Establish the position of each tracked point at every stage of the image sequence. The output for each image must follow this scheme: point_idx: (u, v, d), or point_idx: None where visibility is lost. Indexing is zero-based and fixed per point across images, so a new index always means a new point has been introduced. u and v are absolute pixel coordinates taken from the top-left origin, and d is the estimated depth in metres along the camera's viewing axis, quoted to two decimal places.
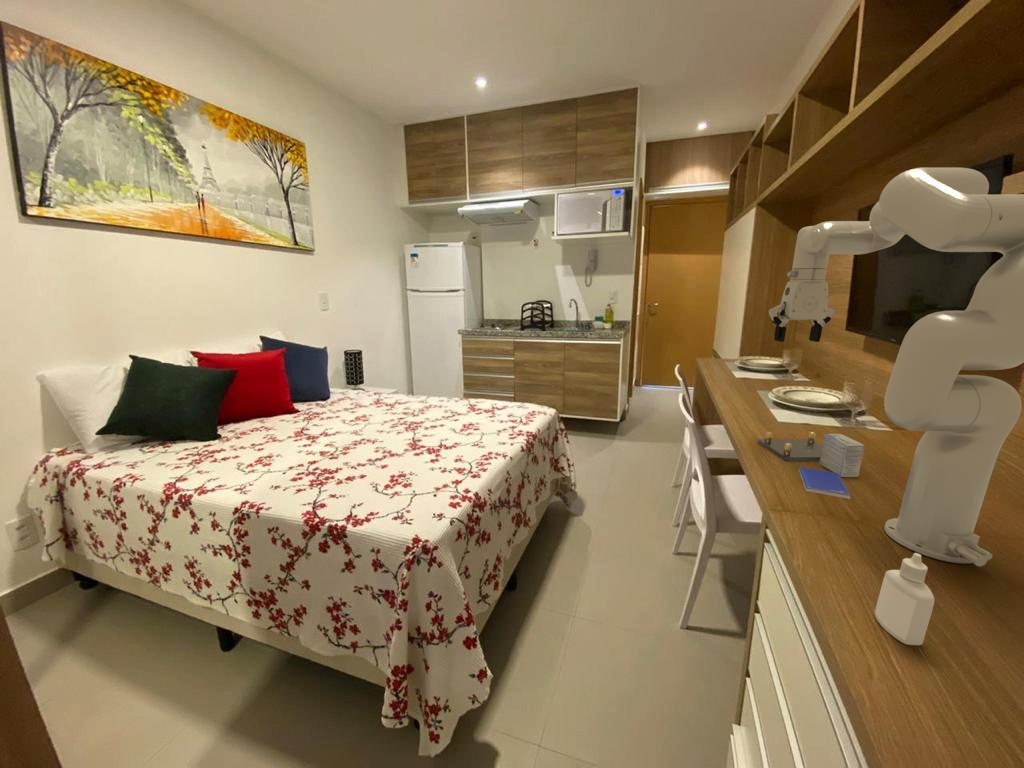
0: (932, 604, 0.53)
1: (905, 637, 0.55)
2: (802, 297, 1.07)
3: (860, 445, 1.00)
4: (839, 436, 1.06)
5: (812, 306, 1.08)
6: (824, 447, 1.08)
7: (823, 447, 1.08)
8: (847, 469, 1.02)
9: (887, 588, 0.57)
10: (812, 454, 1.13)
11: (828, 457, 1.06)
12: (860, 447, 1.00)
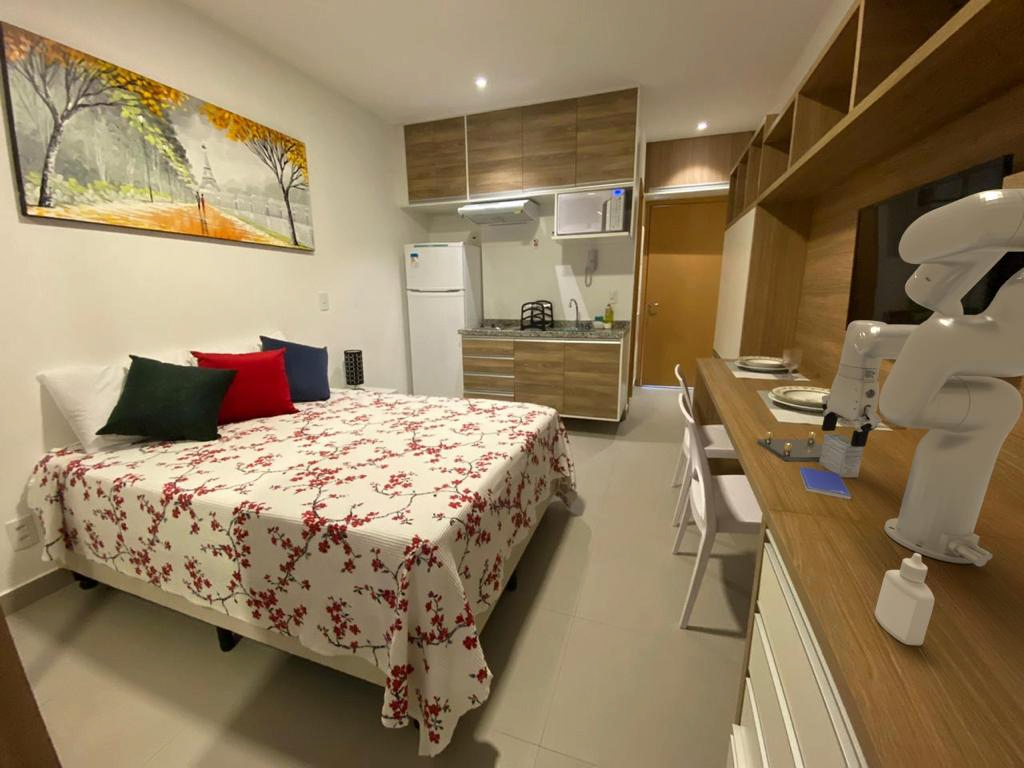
0: (932, 604, 0.53)
1: (905, 638, 0.55)
2: None
3: None
4: (839, 436, 1.06)
5: None
6: (824, 447, 1.08)
7: (823, 447, 1.08)
8: (847, 470, 1.02)
9: (887, 588, 0.57)
10: (812, 454, 1.13)
11: (828, 458, 1.06)
12: (860, 447, 1.00)
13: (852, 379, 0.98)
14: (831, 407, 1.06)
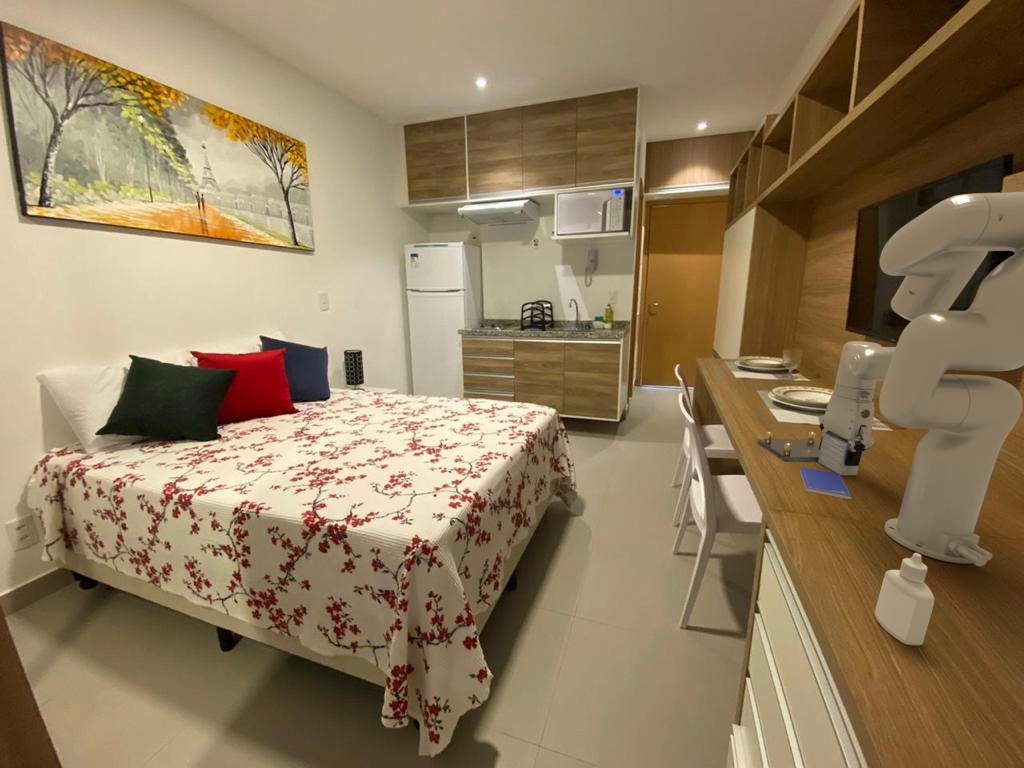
0: (932, 604, 0.53)
1: (905, 637, 0.55)
2: None
3: None
4: None
5: None
6: (823, 445, 1.09)
7: (822, 445, 1.09)
8: (846, 468, 1.03)
9: (887, 588, 0.57)
10: (812, 454, 1.13)
11: (827, 456, 1.07)
12: None
13: (847, 399, 1.00)
14: (827, 426, 1.07)
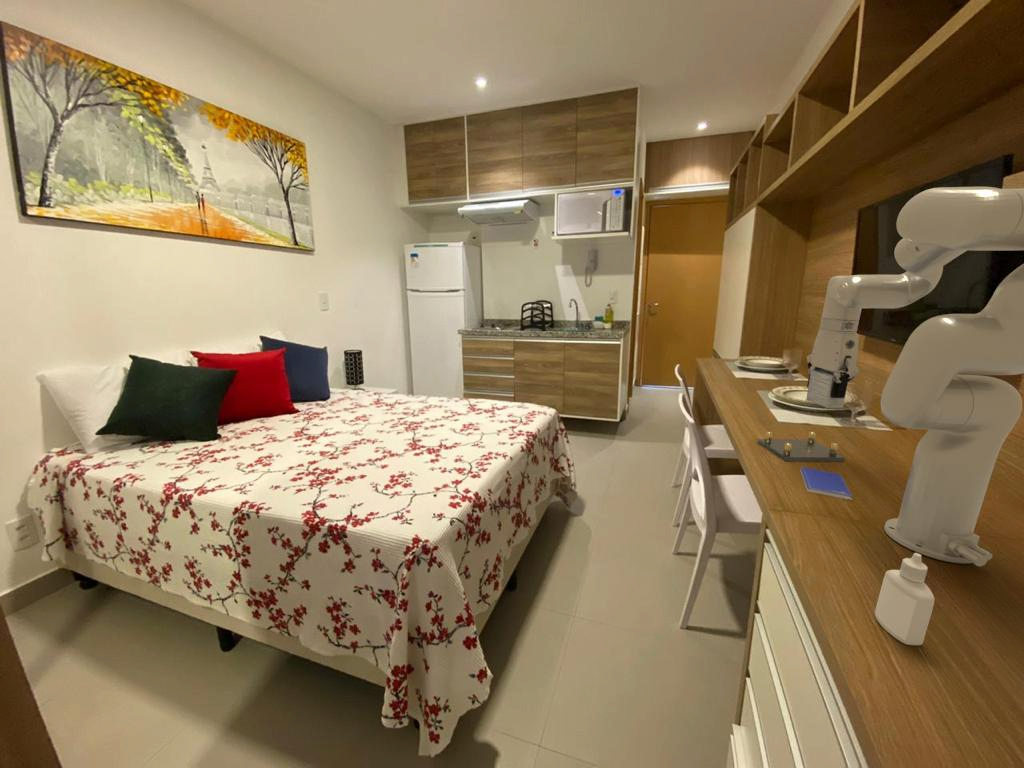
0: (932, 604, 0.53)
1: (905, 637, 0.55)
2: None
3: None
4: (825, 370, 1.09)
5: None
6: (811, 382, 1.11)
7: (810, 382, 1.12)
8: (832, 400, 1.05)
9: (887, 588, 0.57)
10: (812, 454, 1.13)
11: (815, 391, 1.10)
12: None
13: (833, 331, 1.03)
14: (814, 362, 1.10)
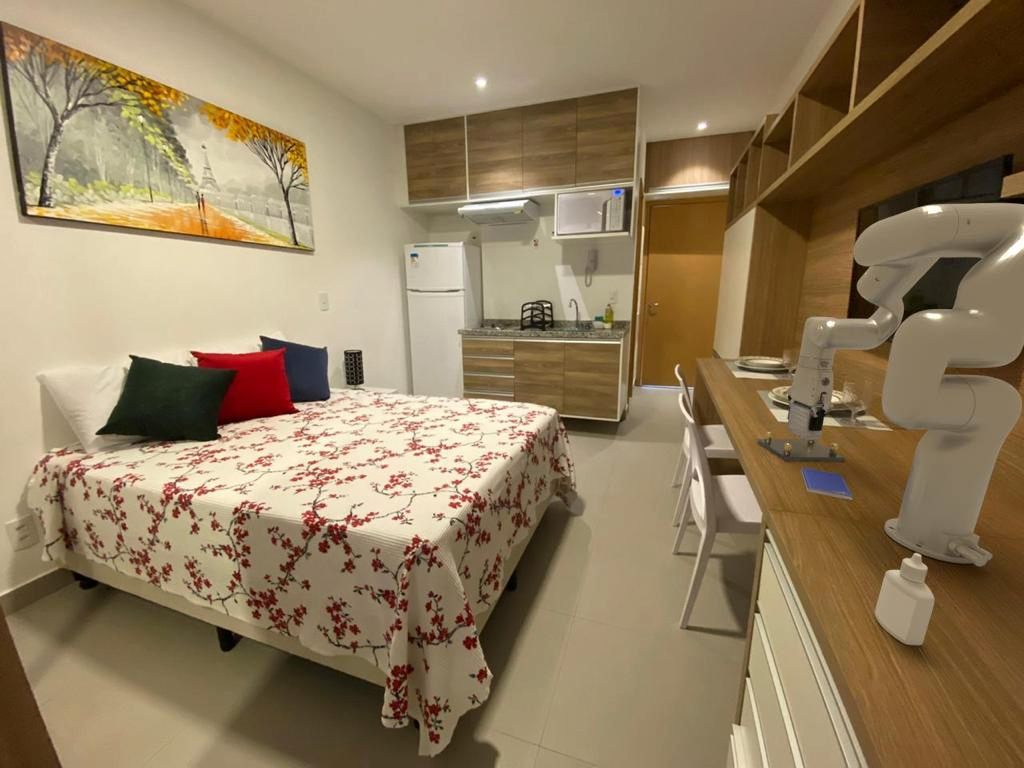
0: (932, 604, 0.53)
1: (905, 637, 0.55)
2: None
3: None
4: (803, 404, 1.16)
5: None
6: (790, 414, 1.18)
7: (790, 415, 1.18)
8: (810, 433, 1.12)
9: (887, 588, 0.57)
10: (812, 454, 1.13)
11: (794, 423, 1.17)
12: None
13: (809, 369, 1.09)
14: (793, 396, 1.17)
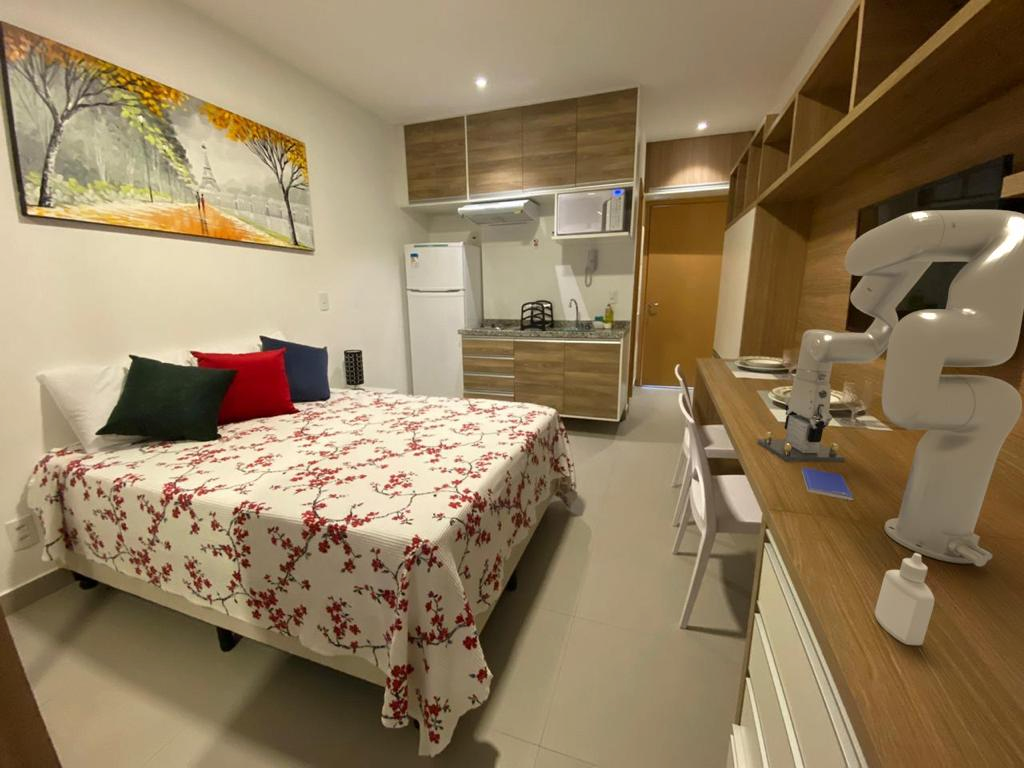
0: (932, 604, 0.53)
1: (905, 637, 0.55)
2: None
3: None
4: (801, 417, 1.17)
5: None
6: (789, 427, 1.19)
7: (788, 427, 1.19)
8: (808, 446, 1.13)
9: (887, 588, 0.57)
10: (812, 454, 1.13)
11: (792, 436, 1.17)
12: None
13: (807, 381, 1.10)
14: (791, 407, 1.17)
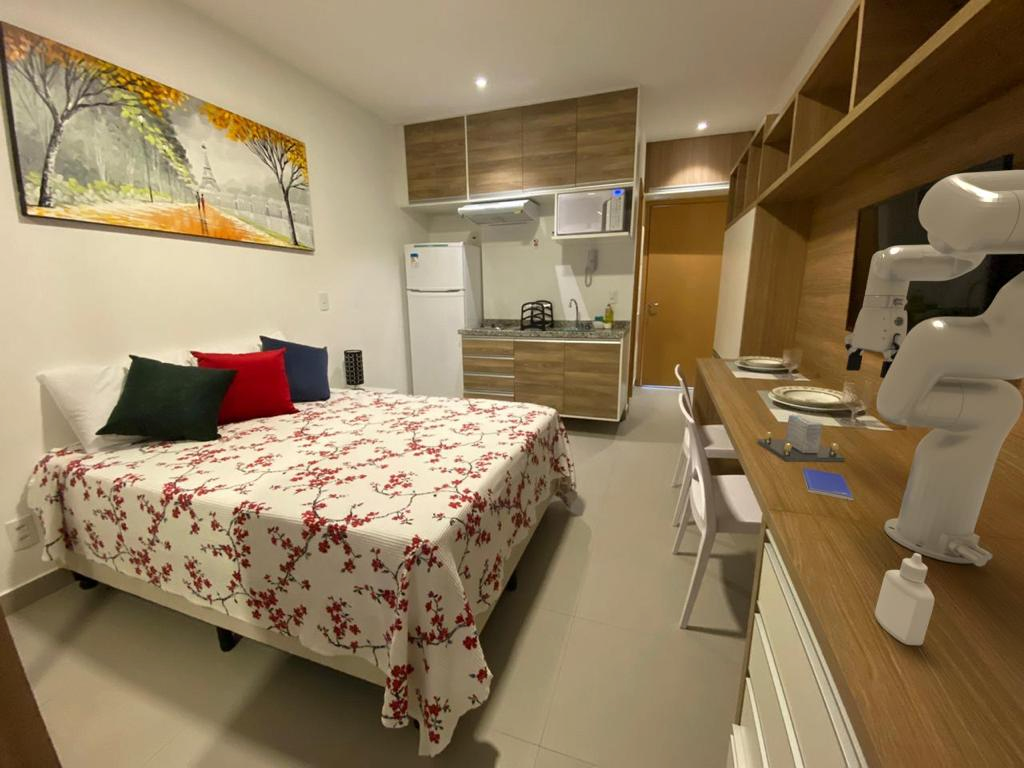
0: (932, 604, 0.53)
1: (905, 637, 0.55)
2: None
3: (819, 424, 1.11)
4: (801, 417, 1.17)
5: None
6: (789, 427, 1.19)
7: (788, 427, 1.19)
8: (808, 446, 1.13)
9: (887, 588, 0.57)
10: (812, 454, 1.13)
11: (792, 436, 1.17)
12: (819, 425, 1.11)
13: (880, 308, 0.97)
14: (856, 343, 1.04)
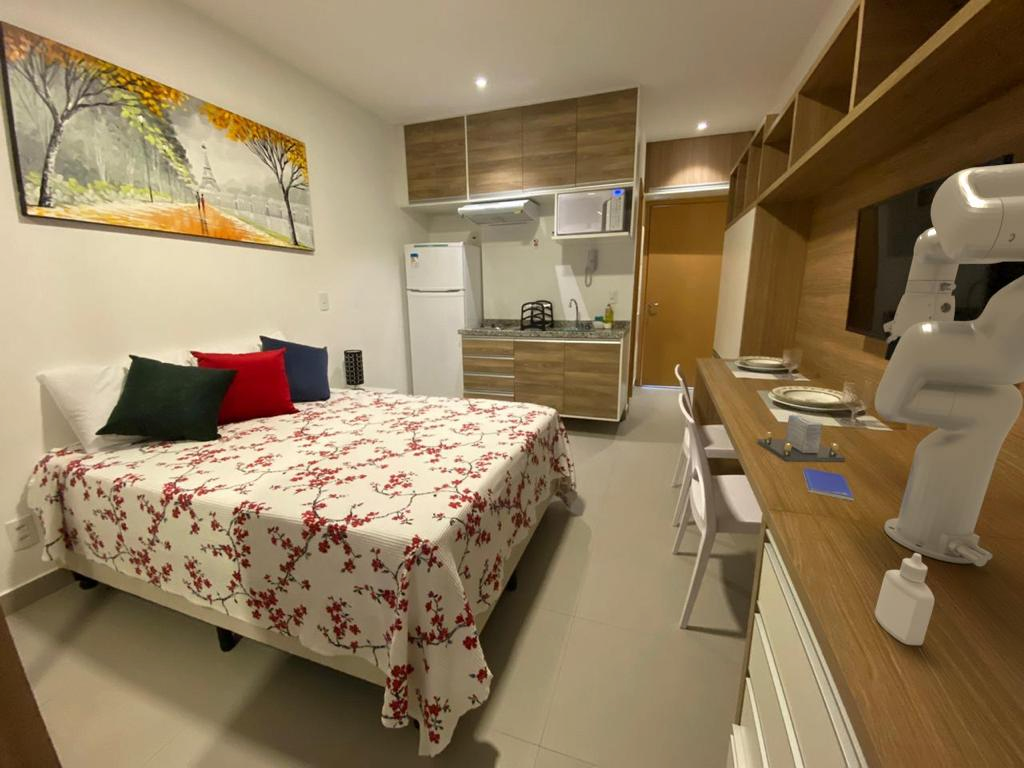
0: (932, 604, 0.53)
1: (905, 637, 0.55)
2: None
3: (819, 424, 1.11)
4: (801, 417, 1.17)
5: None
6: (789, 427, 1.19)
7: (788, 427, 1.19)
8: (808, 446, 1.13)
9: (887, 588, 0.57)
10: (812, 454, 1.13)
11: (792, 436, 1.17)
12: (819, 425, 1.11)
13: (924, 294, 0.91)
14: (897, 331, 0.98)
